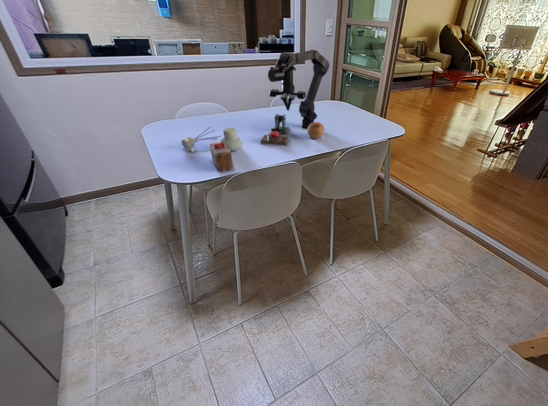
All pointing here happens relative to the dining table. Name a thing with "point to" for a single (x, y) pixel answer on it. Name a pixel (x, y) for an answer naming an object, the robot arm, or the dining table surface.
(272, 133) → the push button
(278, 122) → the switch lever
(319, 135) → the onion
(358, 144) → the dining table surface
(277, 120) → the switch bracket
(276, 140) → the button box
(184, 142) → the reed diffuser
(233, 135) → the air freshener
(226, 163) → the food item
